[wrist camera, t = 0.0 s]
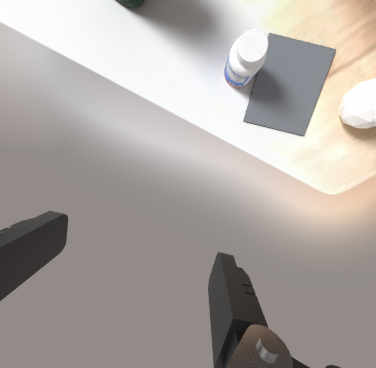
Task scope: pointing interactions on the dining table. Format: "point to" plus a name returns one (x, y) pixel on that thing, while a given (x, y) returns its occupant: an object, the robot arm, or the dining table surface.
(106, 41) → the dining table surface
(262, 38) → the pill bottle
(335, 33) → the dining table surface
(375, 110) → the geometric ball
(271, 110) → the mat
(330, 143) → the dining table surface
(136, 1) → the coffee jar
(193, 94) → the dining table surface
